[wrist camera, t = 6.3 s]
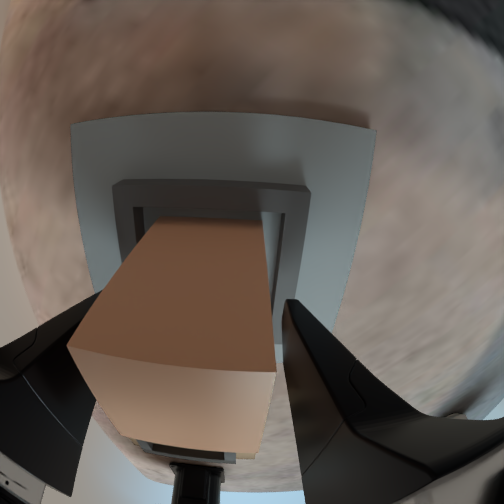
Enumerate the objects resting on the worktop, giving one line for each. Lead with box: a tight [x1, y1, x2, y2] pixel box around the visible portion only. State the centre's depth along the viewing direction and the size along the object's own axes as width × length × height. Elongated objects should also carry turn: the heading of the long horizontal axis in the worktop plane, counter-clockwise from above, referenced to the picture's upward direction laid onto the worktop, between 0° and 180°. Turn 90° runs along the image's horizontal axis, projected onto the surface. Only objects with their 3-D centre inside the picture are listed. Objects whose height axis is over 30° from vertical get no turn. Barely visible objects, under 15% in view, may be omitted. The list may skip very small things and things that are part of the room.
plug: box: [66, 216, 277, 453], centre depth 8 cm, size 4×4×7 cm
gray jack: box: [71, 112, 376, 363], centre depth 11 cm, size 12×12×2 cm
